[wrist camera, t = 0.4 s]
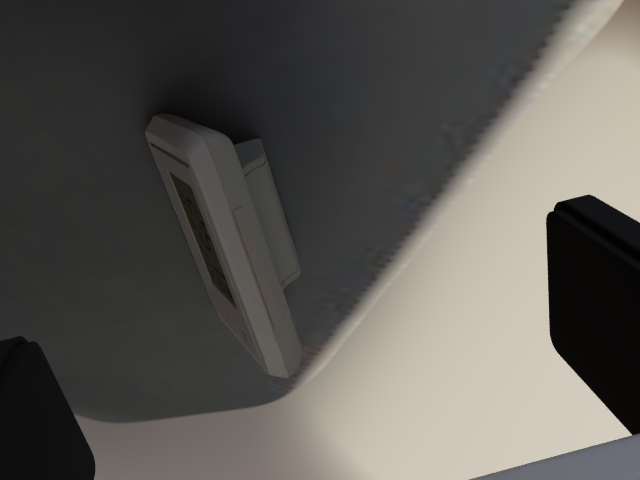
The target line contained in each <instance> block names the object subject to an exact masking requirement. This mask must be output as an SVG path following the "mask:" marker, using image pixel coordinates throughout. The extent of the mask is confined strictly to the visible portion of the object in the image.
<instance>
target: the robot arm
mask: <svg viewBox="0 0 640 480" xmlns="http://www.w3.org/2000/svg"><path fill="white" fill-rule="evenodd" d="M546 220H547V221H546V227H547V259H548V291H549V319H550V320H549V321H550V337H551V340H552V343H553V346H554V348H555V349H556V351H557V352H558V354H559V355H560V356H561V357H562V358H563V359H564V360H565V361H566V362H567V363H568V365H569V366H570V367H571V368H572V369H573V370H574V371H575V372H576V373H577V374H578V376H579V377H580V378H581V379H582V380H583V381H584V382H585V383H586V384H587V385H588V386H589V388H590V389H591V390H592V391H593V392H594V393H595V394H596V395H597V396H598V398H599V399H600V400H601V401H602V402H603V403H604V404H605V405H606V406H607V407H608V409H609V410H610V411H611V412H612V413H613V414H614V415H615V416H616V417H617V419H619V421H620V422H621V423H622V424H623V425H624V426H625V427H626V428H627V429H628V431H629V432H630V433H631V434H632V436H629V437H625V438H621V439H618V440H614V441H610V442H606V443H603V444H599V445H595V446H591V447H588V448H584V449H580V450H577V451H573V452H569V453H566V454H562V455H558V456H555V457H551V458H547V459H543V460H540V461H536V462H532V463H529V464H525V465H521V466H518V467H514V468H510V469H507V470H503V471H499V472H496V473H492V474H489V475H485V476H481V477H477V478H474V479H470V480H640V223H639V222H637V221H636V220H634V219H632V218H630V217H629V216H627V215H625V214H624V213H622V212H620V211H618V210H617V209H615V208H613V207H611V206H609V205H608V204H606V203H604V202H603V201H601V200H599V199H597V198H596V197H594V196H591V195H585V196H581V197H577V198H573V199H569V200H565V201H561V202H558V203H557V204H556V205H555V208H554V211H553V212H550V213H549V214H548V215H547V219H546ZM94 476H95V460H94V456H93V454H92V451H91V449H90V447H89V445H88V443H87V442H86V439H85V437H84V435H83V433H82V431H81V429H80V427H79V425H78V423H77V421H76V419H75V417H74V414H73V412H72V410H71V408H70V406H69V404H68V402H67V400H66V398H65V396H64V394H63V392H62V390H61V388H60V386H59V384H58V382H57V380H56V378H55V376H54V374H53V372H52V370H51V368H50V365H49V363H48V361H47V359H46V357H45V355H44V353H43V351H42V349H41V347H40V346H39V344H37V343H36V342H34V341H32V342H28V341H27V340H26V339H25V338H24V337H21V336H19V337H15V338H11V339H7V340H3V341H0V480H94Z"/></svg>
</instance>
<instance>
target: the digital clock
mask: <svg viewBox="0 0 640 480" xmlns="http://www.w3.org/2000/svg"><path fill="white" fill-rule="evenodd" d="M145 135H146V138H147V141H148V144H149V146H150V149H151V151H152V154H153V157H154V159H155V162H156V164H157V167H158V169H159V172H160V174H161V177H162V179H163V182H164V184H165V187H166V189H167V192H168V194H169V197H170V199H171V201H172V204H173V206H174V209H175V211H176V214H177V216H178V219H179V221H180V224H181V226H182V229H183V231H184V234H185V236H186V239H187V241H188V244H189V246H190V249H191V251H192V254H193V256H194V259H195V261H196V264H197V266H198V269H199V271H200V274H201V276H202V279H203V281H204V284H205V286H206V289H207V291H208V294H209V296H210V298H211V301H212V303H213V306H214V308H215V310H216V312H217V314H218V316H219V317H220V319H221V320H222V321H223V323H224V324H225V325H226V326H227V327H228V328H229V330H230V331H231V332H232V333H233V334H234V336H235V337H236V338H237V339H238V340H239V341H240V343H241V344H242V345H243V346H244V347H245V348H246V350H247V351H248V352H249V353H250V354H251V355H252V357H253V358H254V359H255V360H256V361H257V362H258V364H259V365H260V366H261V367H262V368H263V369H264V370H265V372H266V373H268V374H269V375H273V376H278V377H283V378H288V377H290V376H291V375H292V374H294V373H295V371H296V370H297V369H298V367H299V365H300V363H301V359H302V354H303V352H302V348H301V345H300V341H299V338H298V335H297V332H296V329H295V326H294V323H293V320H292V317H291V314H290V311H289V308H288V305H287V302H286V299H285V296H284V293H283V290H284V289H285V288H286V286H287V285H288V284H289V283H291V282H292V281H294V280H295V279H297V278H298V277H299V276H300V265H299V261H298V258H297V254H296V251H295V247H294V244H293V241H292V237H291V234H290V231H289V228H288V225H287V221H286V218H285V215H284V212H283V209H282V205H281V202H280V199H279V196H278V192H277V189H276V186H275V183H274V180H273V176H272V173H271V170H270V167H269V164H268V160H267V157H266V154H265V151H264V147H263V144H262V141H261V139H260V138H258V139H253V140H250V141H246V142H243V143H239V144H236V145H233V143H232V142H231V140H230V139H229V138H228V137H227V136H226V135H224V134H222V133H220V132H218V131H215V130H213V129H210V128H207V127H205V126H202V125H199V124H197V123H194V122H191V121H189V120H186V119H183V118H181V117H178V116H175V115H171V114H158V115H155V116H153V117H152V119H151V121H150V123H149V124H148V126H147V128H146V130H145Z"/></svg>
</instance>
